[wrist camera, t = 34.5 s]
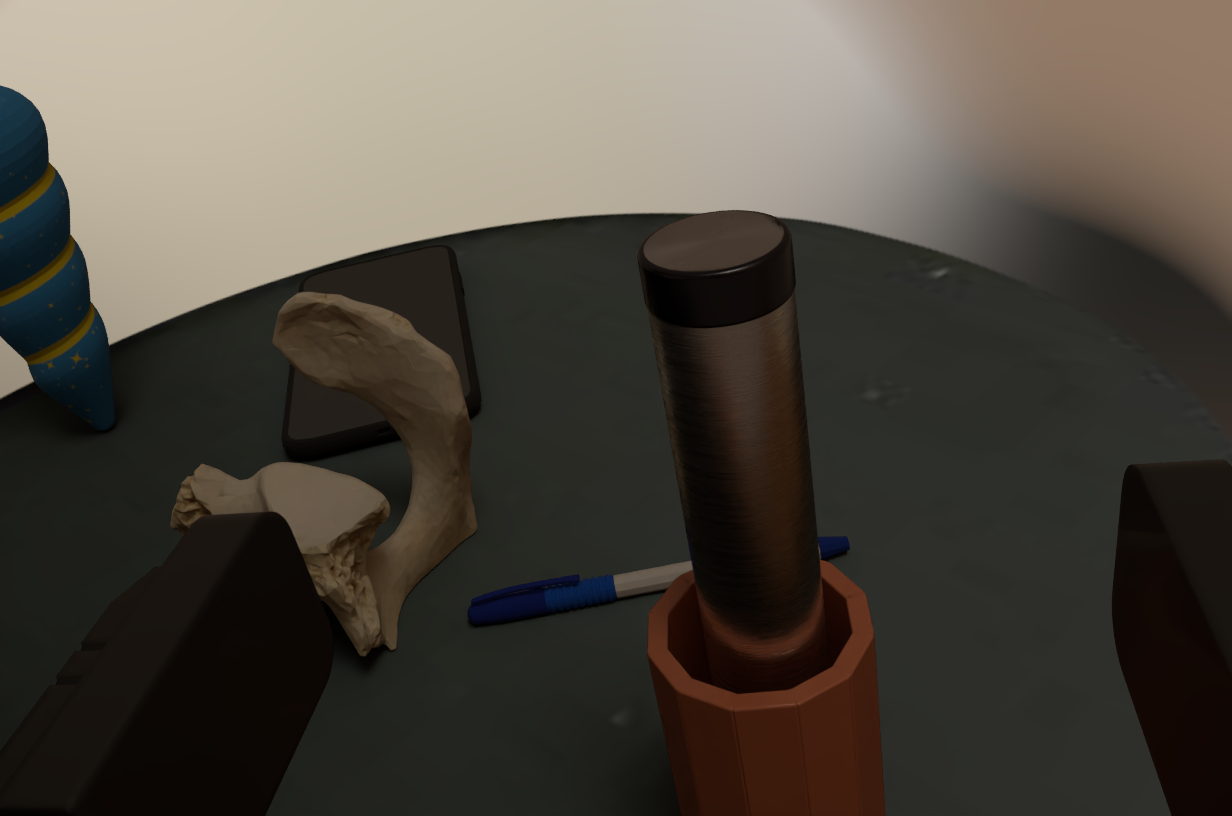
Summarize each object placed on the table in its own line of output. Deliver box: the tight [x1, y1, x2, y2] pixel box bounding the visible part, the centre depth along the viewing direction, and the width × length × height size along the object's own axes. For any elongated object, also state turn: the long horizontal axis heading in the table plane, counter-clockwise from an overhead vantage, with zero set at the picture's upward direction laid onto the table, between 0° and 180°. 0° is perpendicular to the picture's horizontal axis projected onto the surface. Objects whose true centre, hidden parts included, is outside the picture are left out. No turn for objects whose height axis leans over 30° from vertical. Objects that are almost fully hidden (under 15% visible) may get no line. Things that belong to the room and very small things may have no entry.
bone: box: [170, 292, 477, 656], centre depth 30 cm, size 9×6×10 cm
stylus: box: [637, 210, 830, 694], centre depth 18 cm, size 2×2×14 cm
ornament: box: [0, 86, 115, 431], centre depth 39 cm, size 5×5×15 cm
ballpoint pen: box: [468, 536, 850, 625], centre depth 30 cm, size 10×1×1 cm, turn 97°
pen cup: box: [647, 560, 885, 816], centre depth 20 cm, size 4×4×7 cm
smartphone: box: [282, 245, 481, 457], centre depth 45 cm, size 7×1×15 cm
